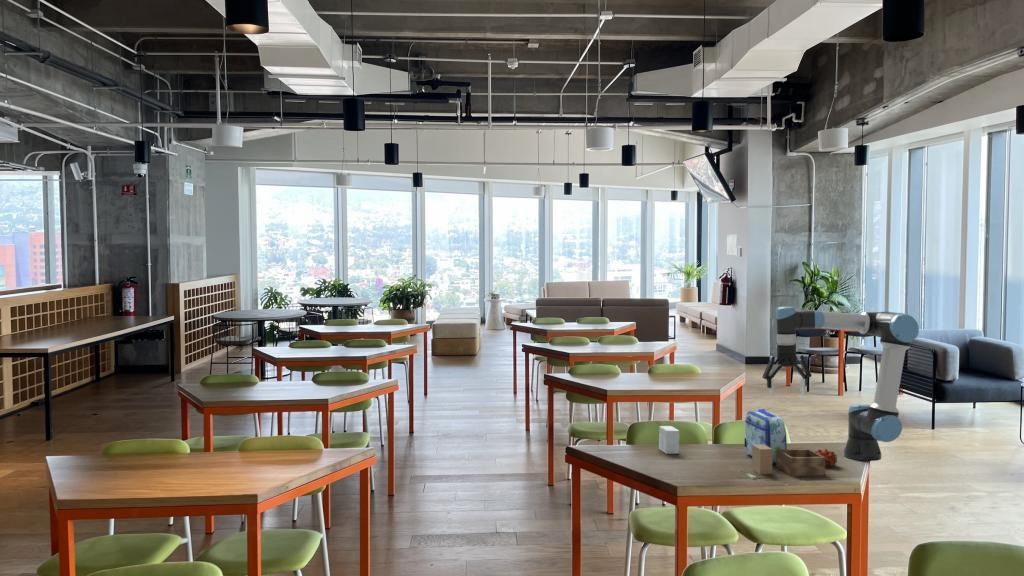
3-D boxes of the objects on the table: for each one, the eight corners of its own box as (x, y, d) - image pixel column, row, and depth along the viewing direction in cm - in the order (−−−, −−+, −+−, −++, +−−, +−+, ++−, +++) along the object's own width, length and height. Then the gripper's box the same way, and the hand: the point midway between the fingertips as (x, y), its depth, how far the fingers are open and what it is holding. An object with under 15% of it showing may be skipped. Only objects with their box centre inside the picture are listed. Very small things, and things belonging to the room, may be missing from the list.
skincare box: (679, 453, 353) (680, 430, 352) (665, 454, 352) (666, 430, 352) (672, 448, 363) (672, 425, 363) (658, 448, 362) (658, 425, 362)
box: (809, 468, 329) (809, 449, 328) (824, 477, 315) (825, 457, 314) (776, 468, 327) (776, 449, 327) (790, 478, 313) (791, 458, 313)
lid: (771, 469, 327) (771, 442, 327) (786, 478, 313) (786, 450, 313) (738, 470, 326) (738, 443, 326) (751, 479, 312) (752, 451, 312)
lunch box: (741, 452, 355) (742, 406, 354) (765, 452, 356) (766, 406, 355) (763, 467, 329) (764, 417, 328) (788, 467, 330) (789, 417, 329)
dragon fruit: (839, 472, 329) (811, 476, 328) (831, 456, 335) (803, 460, 335) (843, 458, 323) (814, 463, 323) (834, 443, 330) (806, 447, 330)
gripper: (810, 341, 333) (811, 392, 334) (753, 344, 331) (754, 394, 332) (819, 343, 326) (820, 395, 327) (761, 346, 323) (762, 397, 324)
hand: (787, 395), depth 329 cm, fingers open, 13 cm apart
